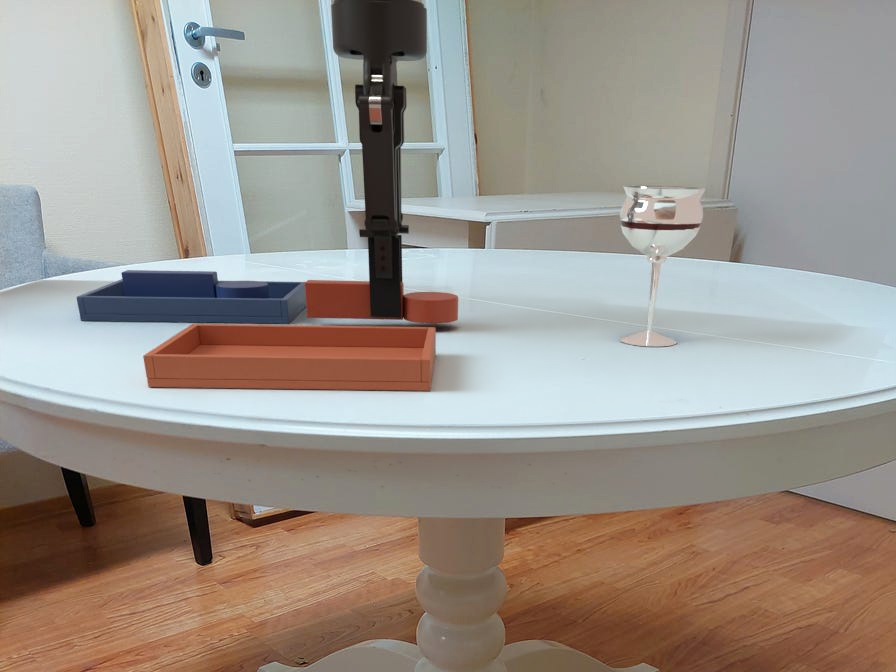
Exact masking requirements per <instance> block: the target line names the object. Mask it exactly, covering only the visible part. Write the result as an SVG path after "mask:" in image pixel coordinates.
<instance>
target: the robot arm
mask: <svg viewBox="0 0 896 672" xmlns="http://www.w3.org/2000/svg"><path fill="white" fill-rule="evenodd" d="M330 14H331V34H332V50H333V52H334V53H335V54H336V56H338V57H340V58H343V59H349V60H358V61H362V60H363V63H362V84H357V83H356V84H355V85H354V98H355V99H354V100H355V102H354V103H355V106H356V108H357V109H358V131H359V133H358V134H359V135H358V136H359V142H360V144H361V153H362V155H361V156H362V172H363V173H362V174H363V193H364V195H363V196H364V213H365V218H364V220H363V221H364V227H365V229H360V228H359V230H358V231H359V238H367V250H368V251H367V252H368V254H367V255H368V279H369V280H368V281H369V284H370V313H371V317H401V282H403V248H402V247H403V239H402V234H405V235H409V233H410V225H409V224H403V220H404V214H403V212H402V146H403V145H404V144H405V111H406V110H407V105H408V104H407V102H408V101H407V87H406V86H405V85H398V69H397V68H398V67H397V63H398V62H402V61H403V62H415V61H421V60H423V59H424V58H426V56H427V53H428V52H427V51H428V9H427V8H426V7H425V4H424V3H423V2H421V1H419V0H333V3H331V5H330Z"/></svg>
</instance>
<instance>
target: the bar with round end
mask: <svg viewBox="0 0 896 672" xmlns="http://www.w3.org/2000/svg"><path fill="white" fill-rule="evenodd" d="M304 282H305V295H306V307H305V308H306V318H308V319H345V320H347V319H348V320H349V319H350V320H351V319H352V320H353V319H354V320H392V321H393V320H394V321H395V320H396V321H402V320H405V321H407V322H410V323H415V324H429V325H433V324H435V325H436V324H437V325H438V324H449V323H454V322H456V321H458V319H459V296H458V295H457V294H455V293H449V292H441V291H414V292H408V293H404V292H405V291H404V289H405V288H404V282H403V281H402V282H401V317H371V313H370V284H369V280H368V281H367V280H333V279H332V280H328V279H326V280H325V279H307V280H306V281H304Z"/></svg>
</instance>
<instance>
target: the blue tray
mask: <svg viewBox="0 0 896 672" xmlns="http://www.w3.org/2000/svg"><path fill="white" fill-rule="evenodd" d="M227 281H228V280H218V283H220V282H227ZM260 282H266V283H268V288H269V299H255V298H189V297H125V292H124V286H123V280H122V278H121V279H119V280H116V281H114V282H111V283H107V284H105V285H103V286H100V287H98V288H95V289H92V290H90V291H88V292H84V293H82V294H80V295H78V296H76V297H75V298H76V303H77V308H78V312H79V318H80V321H81V322H82V321H83V322H139V323H140V322H141V323H143V322H145V323H146V322H147V323H148V322H151V323H205V324H274V325H290V323H291V322H292V321H293V320H294V319H295V318H296V317H297V316H298V315H299V314H300V313H301V312H302V311H303V310H304V309H305V308H306V295H305V282H306V281H273V280H272V281H269V280H268V281H267V280H265V281H264V280H261V281H260Z"/></svg>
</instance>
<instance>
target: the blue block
mask: <svg viewBox="0 0 896 672" xmlns="http://www.w3.org/2000/svg"><path fill="white" fill-rule="evenodd" d="M120 275H121V279H122V280H123V286H124V292H125V297H189V298H255V299H269V288H268V283H266V282H260V281H259V280H226V281H227V282H220V283H218V281H219V279H218V272H217V271H213V270H212V271H207V270H149V269H148V270H147V269H146V270H145V269H126V270H124V271H122V272H121V273H120Z"/></svg>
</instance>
